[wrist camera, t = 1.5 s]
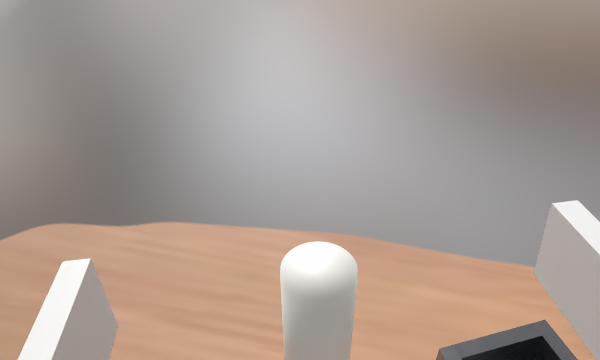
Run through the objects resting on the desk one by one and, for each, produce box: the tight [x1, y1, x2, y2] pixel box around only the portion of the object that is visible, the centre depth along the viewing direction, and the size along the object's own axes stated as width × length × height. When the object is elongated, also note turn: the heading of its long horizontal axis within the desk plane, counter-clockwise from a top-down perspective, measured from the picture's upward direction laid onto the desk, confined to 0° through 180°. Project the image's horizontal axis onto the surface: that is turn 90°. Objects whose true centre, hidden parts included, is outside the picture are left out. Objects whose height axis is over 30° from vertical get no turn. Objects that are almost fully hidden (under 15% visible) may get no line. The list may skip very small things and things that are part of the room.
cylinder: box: [280, 242, 358, 360], centre depth 29 cm, size 4×4×14 cm
